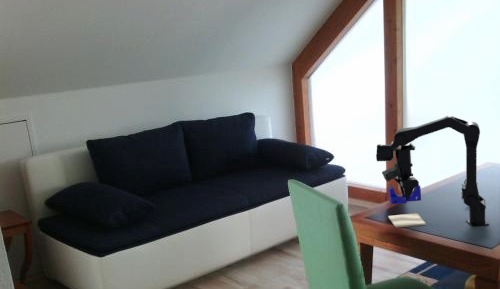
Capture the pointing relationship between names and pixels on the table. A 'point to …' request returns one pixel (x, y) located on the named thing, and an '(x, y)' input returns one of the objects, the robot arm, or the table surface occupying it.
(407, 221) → the pad
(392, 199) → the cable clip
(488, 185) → the table surface
